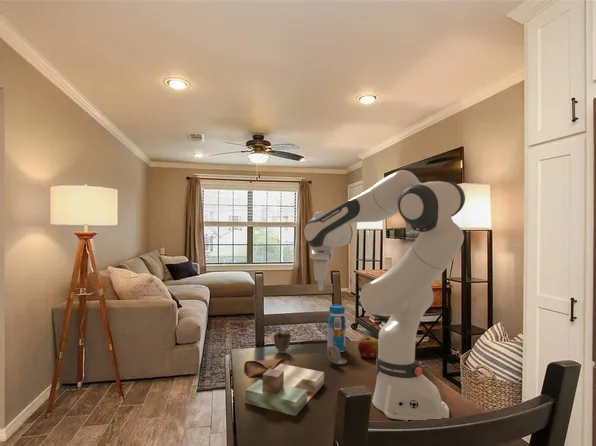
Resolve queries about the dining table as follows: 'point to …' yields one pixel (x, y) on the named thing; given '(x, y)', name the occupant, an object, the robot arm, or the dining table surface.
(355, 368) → the dining table surface
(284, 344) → the cup
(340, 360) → the pocket watch
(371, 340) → the fruit
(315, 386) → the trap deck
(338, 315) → the blue labeled canister
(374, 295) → the robot arm
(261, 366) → the sunglasses case
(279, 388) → the walnut block
